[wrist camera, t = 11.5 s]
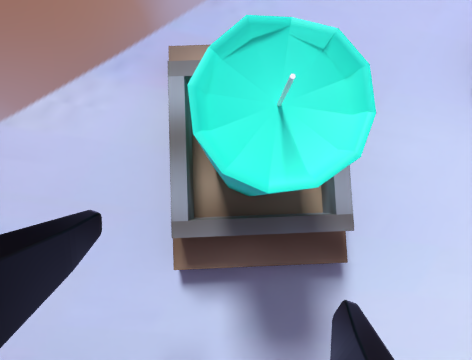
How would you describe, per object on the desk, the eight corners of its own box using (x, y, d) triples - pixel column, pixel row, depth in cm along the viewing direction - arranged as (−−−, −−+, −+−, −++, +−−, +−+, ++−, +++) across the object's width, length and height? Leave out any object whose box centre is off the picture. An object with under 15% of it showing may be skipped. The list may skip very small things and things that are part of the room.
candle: (313, 148, 19) (454, 58, 7) (262, 214, 18) (315, 242, 6) (247, 96, 19) (272, -77, 7) (195, 161, 19) (127, 94, 7)
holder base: (338, 257, 20) (365, 272, 16) (178, 264, 20) (164, 281, 16) (325, 52, 21) (346, 17, 17) (173, 57, 21) (158, 23, 17)
